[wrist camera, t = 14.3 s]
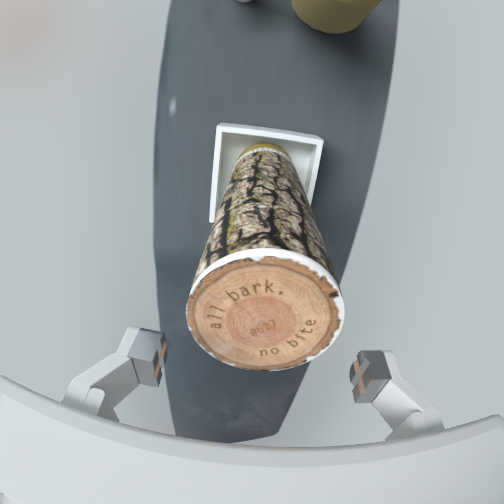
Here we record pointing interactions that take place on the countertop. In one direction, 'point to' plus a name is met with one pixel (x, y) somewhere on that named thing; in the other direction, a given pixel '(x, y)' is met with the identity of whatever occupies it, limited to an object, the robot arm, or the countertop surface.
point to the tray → (242, 136)
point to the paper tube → (265, 271)
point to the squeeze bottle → (333, 13)
